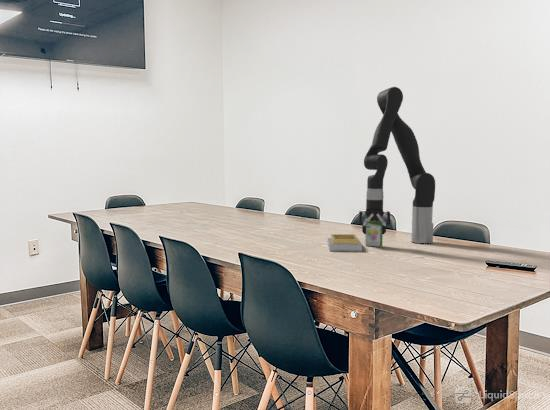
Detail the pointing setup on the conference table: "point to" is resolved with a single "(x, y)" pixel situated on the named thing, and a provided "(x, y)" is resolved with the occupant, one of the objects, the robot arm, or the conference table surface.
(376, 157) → the robot arm
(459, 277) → the conference table surface
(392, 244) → the conference table surface
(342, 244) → the white yellow box
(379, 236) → the ink box
